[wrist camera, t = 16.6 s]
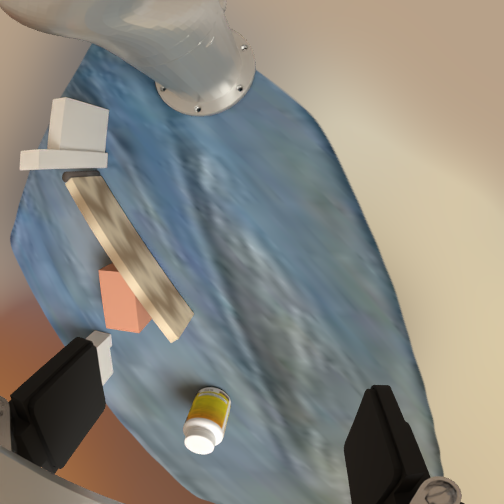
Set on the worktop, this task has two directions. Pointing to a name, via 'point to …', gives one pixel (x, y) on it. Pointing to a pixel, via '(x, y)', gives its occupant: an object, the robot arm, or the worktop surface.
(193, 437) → the supplement bottle
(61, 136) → the wall frame
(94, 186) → the gate door
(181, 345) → the worktop surface
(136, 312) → the salmon orange block
